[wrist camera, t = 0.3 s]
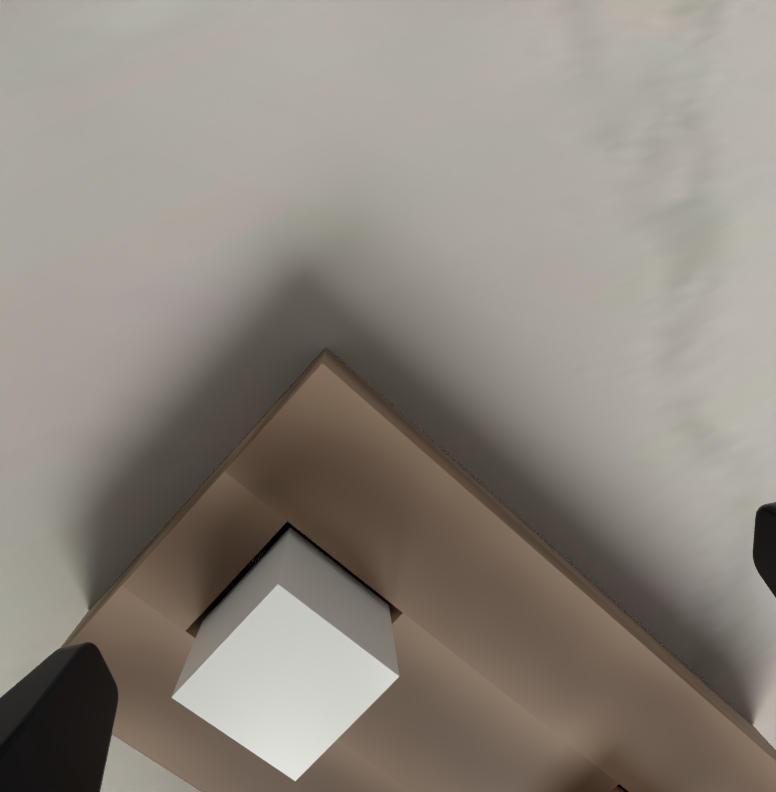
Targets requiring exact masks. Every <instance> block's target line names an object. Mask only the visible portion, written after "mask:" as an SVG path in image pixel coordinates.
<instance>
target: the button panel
mask: <svg viewBox="0 0 776 792" xmlns="http://www.w3.org/2000/svg"><path fill="white" fill-rule="evenodd" d="M287 521H288V522H289V523H290V524H291V525H293V526H294V527H295V528H296V529H298V530H299V531H300V532H302V533H303V534H304V535H305V536H307V537H308V538H309V539H310V540H312V541H313V542H314V543H315V544H317V545H318V546H319V547H320V548H322V549H323V550H324V551H326V552H327V553H328V554H329V555H331V556H332V557H333V558H334V559H336V560H337V561H338V562H339V563H341V564H342V565H343V566H344V567H346V568H347V569H348V570H350V571H351V572H352V573H353V574H355V575H356V576H357V577H358V578H360V579H361V580H362V581H363V582H365V584H364V586H365V587H366V588H368V589H369V590H370V591H372V592H373V593H374V594H375V595H377V596H378V597H379V598H380V599H382V600H383V601H384V602H385V603H387V604H388V605H389V608H390V615H391V622H392V629H393V636H394V643H395V649H396V656H397V663H398V670H399V677H398V678H397V679H396V680H395V681H394V682H393V683H392V684H391V685H390V687H389V688H388V689H387V690H386V691H385V692H384V693H383V694H382V695H381V696H380V697H379V698H378V699H377V700H376V701H375V702H374V703H373V704H372V705H371V706H370V707H369V708H368V709H367V710H366V711H365V712H364V713H363V714H362V715H361V716H360V717H359V718H358V719H357V720H356V721H355V722H354V723H353V724H352V725H351V726H350V727H349V728H348V729H347V730H346V731H345V732H344V733H343V734H342V735H341V736H340V737H339V738H338V739H337V740H336V741H335V742H334V743H333V744H332V745H331V746H330V747H329V748H328V749H327V750H326V751H325V752H324V753H323V754H322V755H321V756H320V757H319V758H318V759H317V760H316V761H315V762H314V763H313V764H312V765H311V766H310V767H309V768H308V769H307V770H306V771H305V772H304V773H303V774H302V775H301V776H300V777H299V778H298V779H297V780H296V781H294V780H293V779H291V778H290V777H288V776H287V775H285V774H284V773H282V772H281V771H279V770H278V769H276V768H275V767H273V766H272V765H271V764H269V763H268V762H266V761H265V760H263V759H262V758H260V757H259V756H257V755H256V754H254V753H253V752H251V751H250V750H248V749H247V748H245V747H244V746H242V745H241V744H239V743H238V742H237V741H235V740H234V739H232V738H231V737H229V736H228V735H226V734H225V733H223V732H222V731H220V730H219V729H217V728H216V727H214V726H213V725H211V724H210V723H208V722H207V721H205V720H204V719H202V718H201V717H200V716H198V715H197V714H195V713H194V712H192V711H191V710H189V709H188V708H186V707H185V706H183V705H182V704H180V703H179V702H177V701H176V700H174V699H173V698H171V697H172V695H173V692H174V690H175V687H176V685H177V682H178V680H179V677H180V675H181V672H182V670H183V668H184V665H185V663H186V660H187V658H188V655H189V653H190V650H191V648H192V645H193V643H194V641H195V638H196V636H197V633H198V631H199V628H200V626H201V623H202V621H203V620H204V619H205V618H206V617H207V616H208V614H209V613H210V612H211V611H212V610H213V609H214V608H215V607H216V606H217V605H218V604H219V603H220V602H221V600H222V599H223V598H224V597H225V596H226V595H227V594H228V593H229V592H230V591H231V590H232V589H233V588H234V586H235V585H234V584H233V583H231V581H232V580H233V579H234V578H235V577H236V576H237V575H238V574H239V573H240V572H241V571H242V570H243V569H244V567H245V566H246V565H247V564H248V563H249V562H250V561H251V560H252V559H253V558H254V557H255V556H256V555H257V553H258V552H259V551H260V550H261V549H262V548H263V547H264V546H265V545H266V544H267V543H268V542H269V541H270V539H271V538H272V537H273V536H274V535H275V534H276V533H277V532H278V531H279V530H280V529H281V528H282V527H283V525H284V524H285V523H286V522H287ZM84 642H91V643H94V644H95V645H96V646H97V647H98V648H99V650H100V652H101V654H102V656H103V658H104V660H105V662H106V664H107V666H108V668H109V670H110V671H111V673H112V675H113V677H114V679H115V681H116V684H117V687H118V693H119V701H118V708H117V712H116V717H115V722H114V727H113V732H112V734H113V735H114V736H116V737H117V738H119V739H120V740H122V741H124V742H125V743H127V744H128V745H130V746H131V747H133V748H134V749H136V750H137V751H139V752H141V753H142V754H144V755H145V756H147V757H148V758H150V759H151V760H153V761H155V762H156V763H158V764H159V765H161V766H162V767H164V768H165V769H167V770H169V771H170V772H172V773H173V774H175V775H176V776H178V777H179V778H181V779H183V780H184V781H186V782H187V783H189V784H190V785H192V786H193V787H195V788H197V789H198V790H200V791H201V792H611V791H612V790H613V789H614V788H615V787H616V786H617V785H619V784H620V785H621V786H622V788H621V789H622V790H623V791H625V792H776V750H775V749H774V748H773V747H772V746H771V745H770V744H769V743H768V741H767V740H766V739H765V738H764V737H763V736H762V735H761V734H760V733H759V732H758V731H757V730H756V728H755V727H754V726H753V725H751V724H750V723H749V722H748V721H747V720H746V719H745V718H744V717H742V716H741V715H740V714H739V713H738V712H737V711H736V710H735V709H733V708H732V707H731V706H730V705H729V704H728V703H727V702H726V701H724V700H723V699H722V698H721V697H720V696H719V695H718V694H716V693H715V692H714V691H713V690H712V689H711V688H710V687H709V686H707V685H706V684H705V683H704V682H703V681H702V680H701V679H700V678H698V677H697V676H696V675H695V674H694V673H693V672H692V671H691V670H689V669H688V668H687V667H686V666H685V665H684V664H683V663H682V662H680V661H679V660H678V659H677V658H676V657H675V656H674V655H672V654H671V653H670V652H669V651H668V650H667V649H666V648H665V647H663V646H662V645H661V644H660V643H659V642H658V641H657V640H656V639H654V638H653V637H652V636H651V635H650V634H649V633H648V632H647V631H645V630H644V629H643V628H642V627H641V626H640V625H639V624H638V623H636V622H635V621H634V620H633V619H632V618H631V617H630V616H629V615H627V614H626V613H625V612H624V611H623V610H622V609H621V608H619V607H618V606H617V605H616V604H615V603H614V602H613V601H612V600H610V599H609V598H608V597H607V596H606V595H605V594H604V593H603V592H601V591H600V590H599V589H598V588H597V587H596V586H595V585H594V584H592V583H591V582H590V581H589V580H588V579H587V578H586V577H585V576H583V575H582V574H581V573H580V572H579V571H578V570H577V569H575V568H574V567H573V566H572V565H571V564H570V563H569V562H568V561H566V560H565V559H564V558H563V557H562V556H561V555H560V554H559V553H557V552H556V551H555V550H554V549H553V548H552V547H551V546H550V545H548V544H547V543H546V542H545V541H544V540H543V539H542V538H541V537H539V536H538V535H537V534H536V533H535V532H534V531H533V530H531V529H530V528H529V527H528V526H527V525H526V524H525V523H524V522H522V521H521V520H520V519H519V518H518V517H517V516H516V515H515V514H513V513H512V512H511V511H510V510H509V509H508V508H507V507H506V506H504V505H503V504H502V503H501V502H500V501H499V500H498V499H497V498H495V497H494V496H493V495H492V494H491V493H490V492H489V491H488V490H486V489H485V488H484V487H483V486H482V485H481V484H480V483H478V482H477V481H476V480H475V479H474V478H473V477H472V476H471V475H469V474H468V473H467V472H466V471H465V470H464V469H463V468H462V467H460V466H459V465H458V464H457V463H456V462H455V461H454V460H453V459H451V458H450V457H449V456H448V455H447V454H446V453H445V452H444V451H442V450H441V449H440V448H439V447H438V446H437V445H436V444H434V443H433V442H432V441H431V440H430V439H429V438H428V437H427V436H425V435H424V434H423V433H422V432H421V431H420V430H419V429H418V428H416V427H415V426H414V425H413V424H412V423H411V422H410V421H409V420H407V419H406V418H405V417H404V416H403V415H402V414H401V413H400V412H398V411H397V410H396V409H395V408H394V407H393V406H392V405H391V404H389V403H388V402H387V401H386V400H385V399H384V398H383V397H381V396H380V395H379V394H378V393H377V392H376V391H375V390H374V389H372V388H371V387H370V386H369V385H368V384H367V383H366V382H365V381H363V380H362V379H361V378H360V377H359V376H358V375H357V374H356V373H354V372H353V371H352V370H351V369H350V368H349V367H348V366H347V365H345V364H344V363H343V362H342V361H341V360H340V359H339V358H337V357H336V356H335V355H334V354H333V353H332V352H331V351H330V350H328V349H327V348H325V349H324V350H323V351H322V352H321V353H320V355H319V356H318V357H317V358H316V359H315V360H314V361H313V362H312V363H311V365H310V366H309V367H308V368H307V369H306V370H305V371H304V372H303V373H302V375H301V376H300V377H299V378H298V379H297V380H296V381H295V382H294V383H293V385H292V386H291V387H290V388H289V389H288V390H287V391H286V392H285V393H284V395H283V396H282V397H281V398H280V399H279V400H278V401H277V402H276V403H275V405H274V406H273V407H272V408H271V409H270V410H269V411H268V412H267V413H266V415H265V416H264V417H263V418H262V419H261V420H260V421H259V422H258V423H257V425H256V426H255V427H254V428H253V429H252V430H251V431H250V432H249V433H248V435H247V436H246V437H245V438H244V439H243V440H242V441H241V442H240V443H239V445H238V446H237V447H236V448H235V449H234V450H233V451H232V452H231V453H230V455H229V456H228V457H227V458H226V459H225V460H224V461H223V462H222V463H221V465H220V466H219V467H218V468H217V469H216V470H215V471H214V472H213V473H212V475H211V476H210V477H209V478H208V479H207V480H206V481H205V482H204V483H203V485H202V486H201V487H200V488H199V489H198V490H197V491H196V492H195V493H194V495H193V496H192V497H191V498H190V499H189V500H188V501H187V502H186V503H185V505H184V506H183V507H182V508H181V509H180V510H179V511H178V512H177V513H176V515H175V516H174V517H173V518H172V519H171V520H170V521H169V522H168V523H167V525H166V526H165V527H164V528H163V529H162V530H161V531H160V532H159V533H158V535H157V536H156V537H155V538H154V539H153V540H152V541H151V542H150V544H149V545H148V546H147V547H146V548H145V549H144V550H143V551H142V552H141V554H140V555H139V556H138V557H137V558H136V559H135V560H134V561H133V562H132V564H131V565H130V566H129V567H128V568H127V569H126V570H125V571H124V572H123V574H122V575H121V576H120V577H119V578H118V579H117V580H116V581H115V582H114V584H113V585H112V586H111V587H110V588H109V589H108V590H107V591H106V592H105V594H104V595H103V596H102V597H101V598H100V599H99V600H98V601H97V602H96V604H95V605H94V606H93V607H92V608H91V609H90V610H89V611H88V613H87V614H86V615H85V616H84V618H83V619H82V620H81V622H80V623H79V624H78V626H77V627H76V628H75V630H74V631H73V632H72V633H71V635H70V636H69V637H68V639H67V640H66V641H65V643H64V644H63V645H62V647H65V646H69V645H74V644H79V643H84ZM62 647H61V648H62Z"/></svg>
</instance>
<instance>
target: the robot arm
mask: <svg viewBox="0 0 776 792" xmlns="http://www.w3.org/2000/svg"><path fill="white" fill-rule="evenodd" d="M753 560H754V564H755V567H756V569H757V571H758V573H759V574H760V576H761V577H762V579H763V580H764V581H765V583H766V584H767V586H768V587H769V589H770V590H771V591H772V593H773V594H774V596H775V597H776V502H774V503H769V504H765V505H762V506H761V507H759V509H758V510H757V512H756V518H755V531H754V543H753ZM118 701H119V693H118V687H117V684H116V681H115V679H114V677H113V675H112V673H111V671H110V670H109V668H108V666H107V664H106V662H105V660H104V658H103V656H102V654H101V652H100V650H99V648H98V647H97V646H96V645H95V644H94V643H91V642H84V643H79V644H74V645H69V646H65V647H62V648H59V649H58V650H56V651H55V652H54V653H52V654H51V655H50V656H49V657H48V658H47V659H45V660H44V661H43V662H42V663H41V664H40V665H38V666H37V667H36V668H35V669H34V670H33V671H31V672H30V673H29V674H28V675H27V676H25V677H24V678H23V679H22V680H21V681H20V682H18V683H17V684H16V685H15V686H14V687H13V688H11V689H10V690H9V691H8V692H7V693H6V694H4V695H3V696H2V697H1V698H0V792H100V789H101V785H102V780H103V775H104V770H105V765H106V761H107V756H108V751H109V746H110V741H111V736H112V732H113V727H114V722H115V717H116V712H117V708H118Z"/></svg>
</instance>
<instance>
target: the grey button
mask: <svg viewBox="0 0 776 792" xmlns="http://www.w3.org/2000/svg"><path fill="white" fill-rule="evenodd" d="M398 677H399V670H398V663H397V656H396V649H395V643H394V636H393V629H392V622H391V615H390V608H389V605H388V604H387V603H385V602H384V601H383V600H382V599H380V598H379V597H378V596H377V595H375V594H374V593H373V592H372V591H370V590H369V589H368V588H366V587H365V586H364V585H363V584H361V583H360V582H359V581H358V580H356V579H355V578H354V577H353V576H351V575H350V574H349V573H347V572H346V571H345V570H344V569H342V568H341V567H340V566H339V565H337V564H336V563H335V562H334V561H332V560H331V559H330V558H328V557H327V556H326V555H325V554H323V553H322V552H321V551H320V550H318V549H317V548H316V547H315V546H313V545H312V544H311V543H309V542H308V541H307V540H306V539H304V538H303V537H302V536H301V535H299V534H298V533H297V532H296V531H294V530H293V529H292V528H290V527H289V528H288V529H287V531H286V532H285V533H284V534H283V535H282V536H281V537H280V538H279V539H278V540H277V541H276V542H275V543H274V545H273V546H272V547H271V548H270V549H269V550H268V551H267V552H266V553H265V554H264V555H263V556H262V557H261V559H260V560H259V561H258V562H257V563H256V564H255V565H254V566H253V567H252V568H251V569H250V570H249V571H248V572H247V574H246V575H245V576H244V577H243V578H242V579H241V580H240V581H239V582H238V583H237V584H236V585H235V586H234V588H233V589H232V590H231V591H230V592H229V593H228V594H227V595H226V596H225V597H224V598H223V599H222V600H221V602H220V603H219V604H218V605H217V606H216V607H215V608H214V609H213V610H212V611H211V612H210V613H209V614H208V616H207V617H206V618H205V619H204V620H203V621H202V623H201V626H200V628H199V631H198V633H197V636H196V638H195V641H194V643H193V645H192V648H191V650H190V653H189V655H188V658H187V660H186V663H185V665H184V668H183V670H182V672H181V675H180V677H179V680H178V682H177V685H176V687H175V690H174V692H173V695H172V697H171V698H173V699H174V700H176V701H177V702H179V703H180V704H182V705H183V706H185V707H186V708H188V709H189V710H191V711H192V712H194V713H195V714H197V715H198V716H200V717H201V718H202V719H204V720H205V721H207V722H208V723H210V724H211V725H213V726H214V727H216V728H217V729H219V730H220V731H222V732H223V733H225V734H226V735H228V736H229V737H231V738H232V739H234V740H235V741H237V742H238V743H239V744H241V745H242V746H244V747H245V748H247V749H248V750H250V751H251V752H253V753H254V754H256V755H257V756H259V757H260V758H262V759H263V760H265V761H266V762H268V763H269V764H271V765H272V766H273V767H275V768H276V769H278V770H279V771H281V772H282V773H284V774H285V775H287V776H288V777H290V778H291V779H293V780H294V781H296V780H297V779H298V778H299V777H300V776H301V775H302V774H303V773H304V772H305V771H306V770H307V769H308V768H309V767H310V766H311V765H312V764H313V763H314V762H315V761H316V760H317V759H318V758H319V757H320V756H321V755H322V754H323V753H324V752H325V751H326V750H327V749H328V748H329V747H330V746H331V745H332V744H333V743H334V742H335V741H336V740H337V739H338V738H339V737H340V736H341V735H342V734H343V733H344V732H345V731H346V730H347V729H348V728H349V727H350V726H351V725H352V724H353V723H354V722H355V721H356V720H357V719H358V718H359V717H360V716H361V715H362V714H363V713H364V712H365V711H366V710H367V709H368V708H369V707H370V706H371V705H372V704H373V703H374V702H375V701H376V700H377V699H378V698H379V697H380V696H381V695H382V694H383V693H384V692H385V691H386V690H387V689H388V688H389V687H390V685H391V684H392V683H393V682H394V681H395V680H396V679H397V678H398Z"/></svg>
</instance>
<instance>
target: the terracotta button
mask: <svg viewBox="0 0 776 792" xmlns="http://www.w3.org/2000/svg"><path fill="white" fill-rule="evenodd" d="M611 792H625V791H623V790H622V789H621V788H620V787H618V786H616V787H615V788H614V789H613V790H612V791H611Z"/></svg>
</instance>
